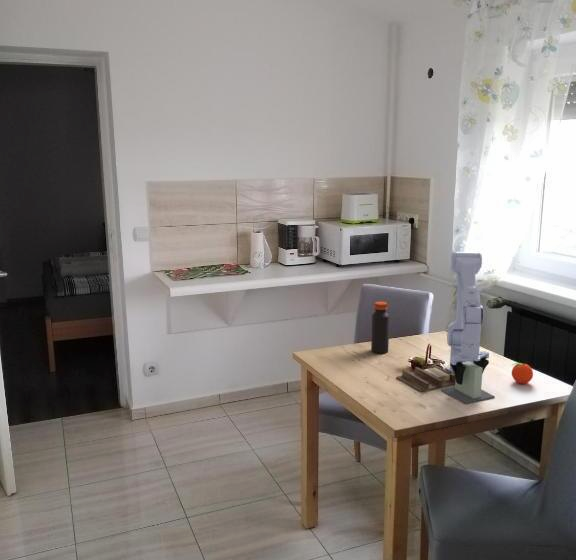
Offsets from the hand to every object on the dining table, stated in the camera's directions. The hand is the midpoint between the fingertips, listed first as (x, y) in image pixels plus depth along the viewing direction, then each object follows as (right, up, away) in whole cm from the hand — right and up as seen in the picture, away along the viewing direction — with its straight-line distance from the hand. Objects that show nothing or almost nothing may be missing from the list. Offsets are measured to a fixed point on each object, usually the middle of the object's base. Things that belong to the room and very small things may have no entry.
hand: (468, 381), depth 197 cm
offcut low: (-7, -1, +14) cm, 16 cm away
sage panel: (0, -4, +1) cm, 4 cm away
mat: (0, -4, +1) cm, 4 cm away
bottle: (-23, +5, +43) cm, 49 cm away
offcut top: (-7, 0, +14) cm, 15 cm away
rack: (-11, -2, +12) cm, 16 cm away
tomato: (+21, -2, +10) cm, 23 cm away
